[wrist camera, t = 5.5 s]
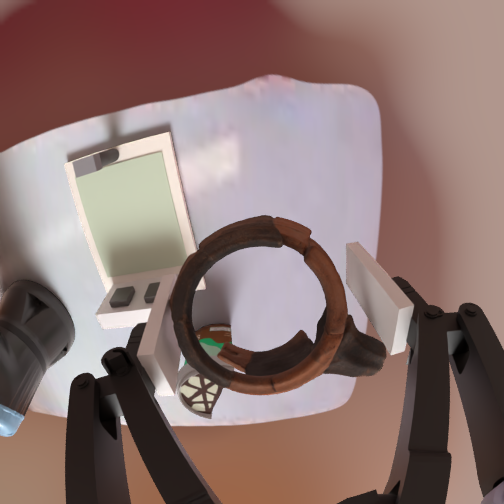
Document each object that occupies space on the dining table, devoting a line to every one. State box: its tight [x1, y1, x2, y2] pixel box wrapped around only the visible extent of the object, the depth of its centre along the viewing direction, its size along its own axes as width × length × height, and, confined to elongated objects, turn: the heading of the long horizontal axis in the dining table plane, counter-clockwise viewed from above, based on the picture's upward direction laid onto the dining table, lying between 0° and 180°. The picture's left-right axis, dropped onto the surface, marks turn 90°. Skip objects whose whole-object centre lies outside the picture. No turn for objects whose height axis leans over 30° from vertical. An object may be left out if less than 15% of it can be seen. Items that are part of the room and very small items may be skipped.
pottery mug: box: [169, 215, 386, 395], centre depth 16 cm, size 12×10×8 cm
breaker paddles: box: [109, 282, 160, 308], centre depth 33 cm, size 7×1×3 cm, turn 99°
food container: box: [176, 324, 234, 419], centre depth 39 cm, size 12×6×10 cm, turn 161°
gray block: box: [72, 148, 119, 178], centre depth 27 cm, size 2×2×8 cm
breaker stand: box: [64, 132, 206, 329], centre depth 32 cm, size 14×20×8 cm
